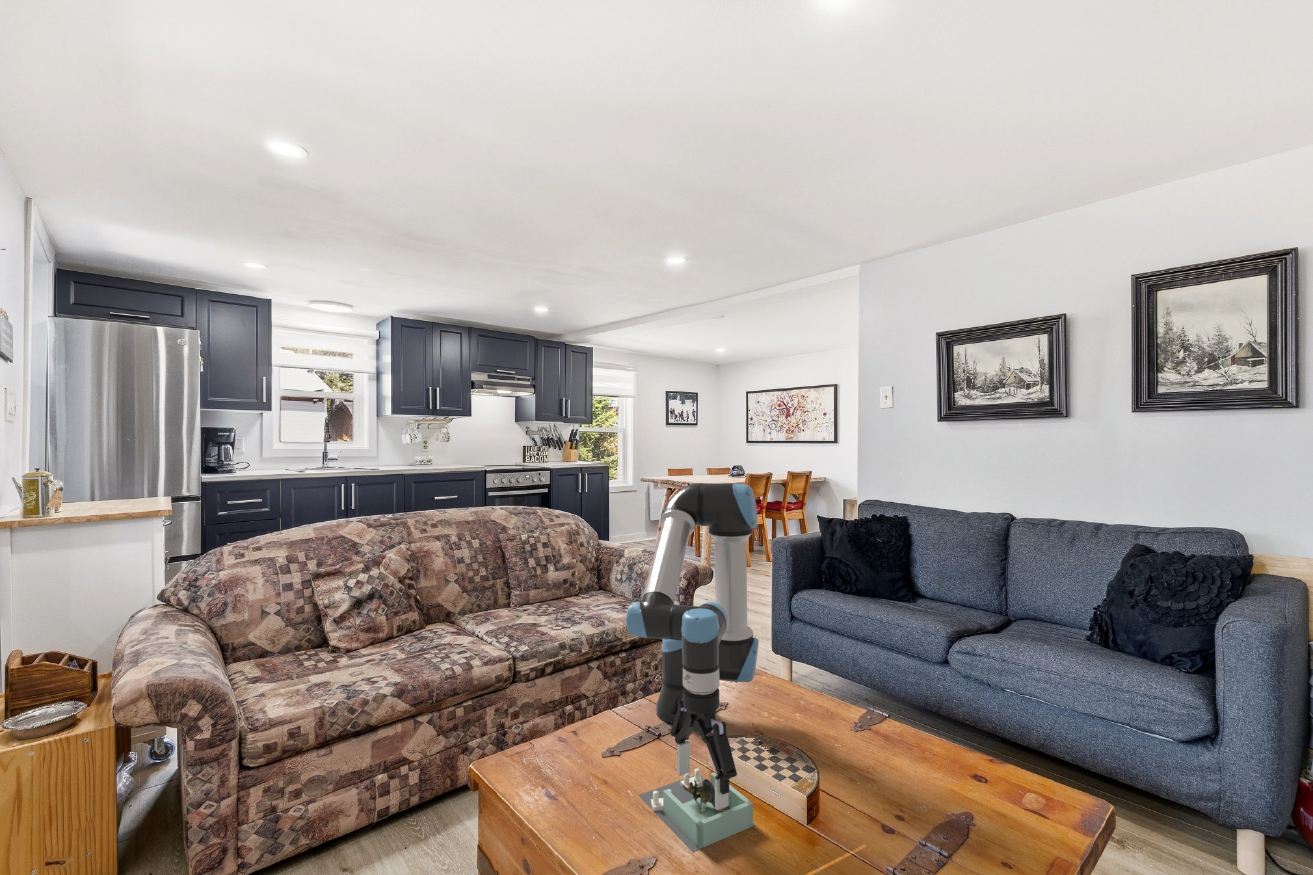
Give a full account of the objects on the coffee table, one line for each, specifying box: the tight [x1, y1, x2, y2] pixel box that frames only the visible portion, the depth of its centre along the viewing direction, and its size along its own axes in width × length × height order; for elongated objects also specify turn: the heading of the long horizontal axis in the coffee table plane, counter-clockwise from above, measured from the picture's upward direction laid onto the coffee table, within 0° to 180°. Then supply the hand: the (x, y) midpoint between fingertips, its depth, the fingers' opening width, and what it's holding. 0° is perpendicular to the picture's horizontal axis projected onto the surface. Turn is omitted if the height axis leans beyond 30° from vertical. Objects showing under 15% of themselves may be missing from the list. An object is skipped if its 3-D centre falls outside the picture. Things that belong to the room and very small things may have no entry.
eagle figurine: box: [682, 774, 730, 814], centre depth 127 cm, size 8×7×9 cm
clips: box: [651, 768, 703, 812], centre depth 132 cm, size 14×6×3 cm, turn 121°
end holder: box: [663, 772, 754, 850], centre depth 124 cm, size 13×13×4 cm
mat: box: [638, 774, 756, 853], centre depth 127 cm, size 15×21×1 cm
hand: (701, 789), depth 126 cm, fingers open, 13 cm apart
